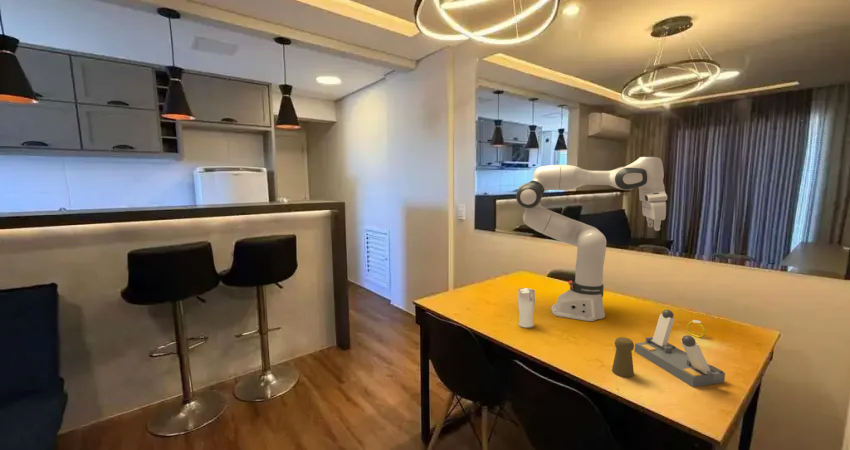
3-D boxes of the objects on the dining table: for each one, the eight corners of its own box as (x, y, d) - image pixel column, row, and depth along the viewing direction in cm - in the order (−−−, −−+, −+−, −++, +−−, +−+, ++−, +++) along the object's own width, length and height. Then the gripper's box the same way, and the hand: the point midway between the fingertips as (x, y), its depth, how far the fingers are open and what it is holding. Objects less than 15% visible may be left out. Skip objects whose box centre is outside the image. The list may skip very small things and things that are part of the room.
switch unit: (661, 348, 126) (662, 335, 125) (732, 386, 102) (733, 371, 101) (634, 351, 124) (634, 338, 123) (699, 391, 100) (700, 376, 99)
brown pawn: (607, 368, 113) (609, 335, 112) (625, 366, 114) (627, 334, 112) (619, 378, 107) (621, 344, 106) (638, 377, 108) (640, 342, 106)
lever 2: (697, 362, 108) (681, 329, 105) (716, 372, 102) (700, 338, 99) (689, 368, 107) (673, 335, 105) (708, 379, 101) (691, 344, 99)
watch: (705, 338, 133) (708, 324, 132) (701, 340, 132) (703, 325, 131) (688, 331, 138) (691, 317, 137) (684, 333, 137) (686, 318, 136)
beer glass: (535, 323, 149) (536, 288, 148) (533, 329, 143) (534, 293, 141) (519, 320, 152) (519, 287, 151) (516, 327, 146) (516, 291, 144)
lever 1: (655, 342, 123) (665, 307, 123) (669, 350, 118) (680, 313, 117) (647, 341, 123) (658, 306, 122) (661, 349, 117) (673, 312, 116)
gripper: (637, 194, 155) (639, 225, 157) (649, 197, 136) (651, 233, 138) (653, 193, 153) (655, 224, 155) (668, 196, 134) (670, 231, 136)
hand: (653, 228), depth 146 cm, fingers open, 8 cm apart
